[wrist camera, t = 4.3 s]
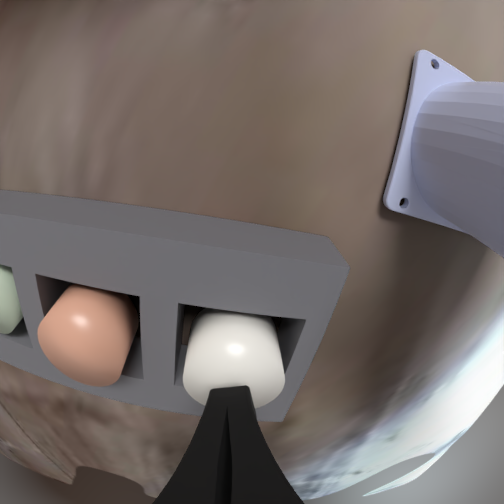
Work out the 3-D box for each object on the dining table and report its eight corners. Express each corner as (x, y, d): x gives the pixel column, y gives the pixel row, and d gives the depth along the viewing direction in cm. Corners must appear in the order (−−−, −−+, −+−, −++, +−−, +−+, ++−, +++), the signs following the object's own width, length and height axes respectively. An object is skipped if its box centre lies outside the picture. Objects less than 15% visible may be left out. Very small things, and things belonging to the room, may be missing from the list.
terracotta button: (137, 284, 12) (116, 328, 9) (140, 350, 14) (125, 395, 11) (60, 269, 11) (28, 305, 9) (71, 333, 13) (49, 373, 10)
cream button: (285, 306, 13) (297, 354, 10) (265, 367, 14) (271, 413, 12) (194, 294, 12) (185, 341, 10) (187, 358, 14) (181, 405, 11)
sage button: (35, 249, 12) (4, 277, 10) (46, 310, 14) (22, 342, 11) (-11, 239, 12) (-42, 262, 9) (1, 296, 13) (-23, 322, 11)
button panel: (327, 236, 13) (350, 267, 10) (276, 383, 17) (281, 421, 15) (-28, 187, 11) (-61, 203, 8) (0, 324, 15) (-20, 349, 12)
